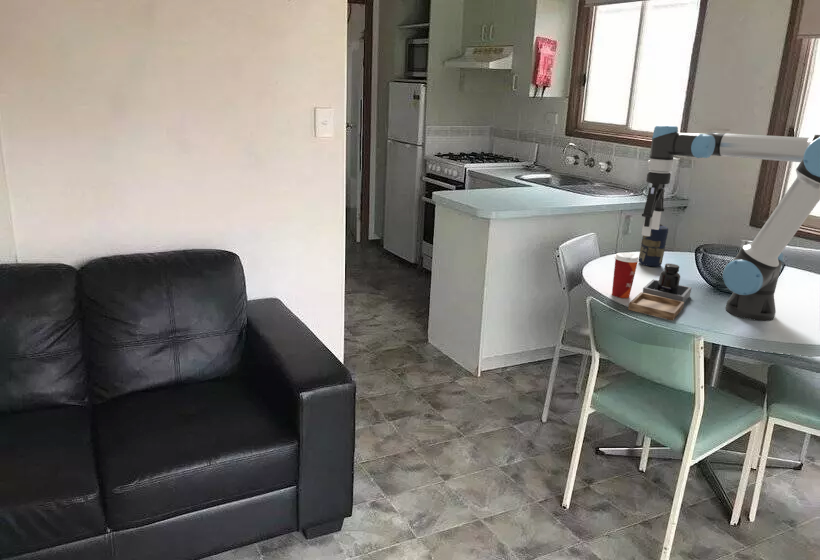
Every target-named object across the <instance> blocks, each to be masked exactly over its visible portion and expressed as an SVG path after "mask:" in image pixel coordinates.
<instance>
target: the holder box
mask: <svg viewBox="0 0 820 560" xmlns="http://www.w3.org/2000/svg"><path fill="white" fill-rule="evenodd" d="M658 282H659V279H651V280H650V281H649V282H648V283H647V284H646V285H644V287H643V288H642V293H647V294H651V295H656V296H660V297H664V298H669V299H673V300H678V301H682V302H684V304H685V303H686V302H687V301H688V299H690V297H691V293H692V287H691V286H685V285H681V284H679V286H678V290H677V295H676V294H671V293H667V292H662V291H658V290H657V287H658Z"/></svg>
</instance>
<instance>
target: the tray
mask: <svg viewBox="0 0 820 560" xmlns="http://www.w3.org/2000/svg"><path fill="white" fill-rule="evenodd" d="M684 305H685V303H684V302H682V301H678V300H673V299H669V298H664V297H660V296H656V295H651V294H647V293H643V291H642V292H640V293H638V294H637V295H636V296H635V297H634V298H632V299H631V300H630V301H629V302H628V307H627V310H628V311H633V312H636V313H640V314H644V315H648V316H651V317H652V316H653V317H656V318H661V319H664V320H669V321H674V320H675V319H676V318H677V317H678V315H679V314H680V313H681V312H682V311H683V309H684ZM681 310H682V311H681ZM676 316H677V317H676Z"/></svg>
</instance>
